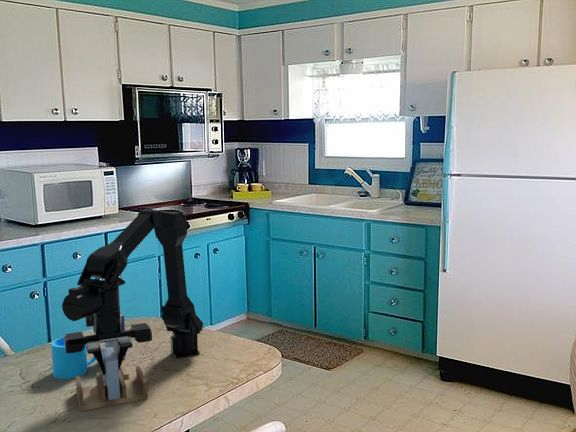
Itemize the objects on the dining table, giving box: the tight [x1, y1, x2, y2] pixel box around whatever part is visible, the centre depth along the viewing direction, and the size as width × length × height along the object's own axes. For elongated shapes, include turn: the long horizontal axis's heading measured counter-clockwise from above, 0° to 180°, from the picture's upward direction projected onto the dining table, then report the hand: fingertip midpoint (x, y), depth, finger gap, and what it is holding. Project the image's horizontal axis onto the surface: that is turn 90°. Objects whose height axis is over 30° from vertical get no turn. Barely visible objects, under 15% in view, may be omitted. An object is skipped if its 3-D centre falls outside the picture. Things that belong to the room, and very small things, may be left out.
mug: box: [50, 336, 97, 380], centre depth 151 cm, size 12×8×8 cm
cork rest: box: [100, 361, 130, 383], centre depth 147 cm, size 6×8×2 cm
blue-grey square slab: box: [100, 347, 120, 400], centre depth 137 cm, size 2×9×9 cm, turn 24°
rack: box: [75, 365, 149, 412], centre depth 137 cm, size 15×10×4 cm
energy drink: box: [104, 312, 127, 360], centre depth 159 cm, size 5×5×12 cm
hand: (110, 373), depth 136 cm, fingers open, 3 cm apart
